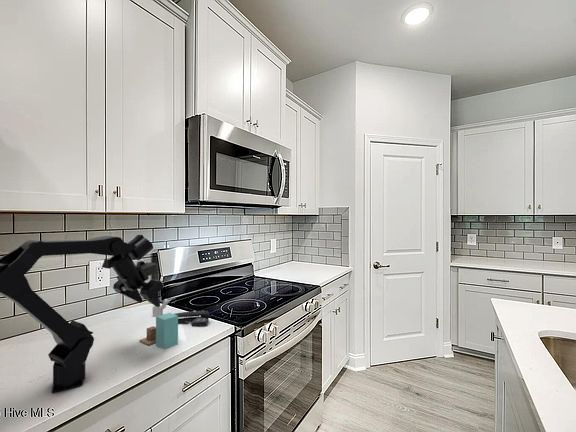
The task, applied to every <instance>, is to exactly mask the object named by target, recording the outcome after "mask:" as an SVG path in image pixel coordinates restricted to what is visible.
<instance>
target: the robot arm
mask: <svg viewBox="0 0 576 432" xmlns="http://www.w3.org/2000/svg"><path fill="white" fill-rule="evenodd" d="M153 249H154V244H153V243H152V242H151V241H150V240H149V239H148V238H146V237H144V235H143V234H137V235H136V236H135V237H133V239H131V240H130V241H128V242H124V240H123V239H122V237H120V236H109V235H103V236H98V237H97V236H96V237H92V238H89V239H82V240H79V239H75V240H71V239H70V240H69V239H68V240H37V239H35V240H33V239H31V240H26V241H25V242H23V243H22V244H21V245H20V246H18V247H17V248H16V249H13V250H12V251H10V252H8V253H7V254H5V255H4V256H2V257H0V295H1V296H2V297H4V298H7V299H9V300H10V301H12V302H13V303H14V304H15V305H17V306H18V307H19V308H20V309H22V310H23V311H24V312H25V313H27V314H28V316H30V317H31V318H32V319H34V320H35V321H36V322H37V323H38V324H40V325H41V326H42V327H43V328H45V329H46V330H47V331H48V332H49V333H51V336H52V338H53V340H54V342H55V343H56V345H55V346H54V347H53V348H52V349H51V351H50V352H49V353H48V355H47V356H48V358H49V359H50V361H51V362H53V365H52V378H53V379H52V388H51V394H54V393H58V392H63V391H66V390H70V389H73V388H77V387H81V386H83V384H84V380H85V379H86V361H87V360H88V356H89V354H90V350H91V349H92V347H93V345H94V341H95V337H94V336H93V334H94V332H93V331H90V330H89V329H88V327H87V326H86V325H85V324H84V323H82V322H78V321H76V320H70V322H69V321H67V320H66V319H65V318H64V317H63V316H62V315H61V314H60V313H59V312H57V310H55V309H54V308H53V307H52V306H51V305H50V304H49V303H47V302H46V301H45V300H44V299H43V298H42V297H41V296H40V295H38V293H36V292H35V291H34V290H33V289H32V287H31V285H30V283H29V280H28V278H27V277H26V276H25V275H26V274H27V273H28V272H29V271H31V269H32V268H33V267H34V265H35V264H36V263H37V262H38V260H40V258H42V257H47V256H49V257H50V256H64V255H65V256H66V255H84V254H93V255H94V254H95V255H104V256H109V258H108V259H107V258H104V259H103V263H102V266H101V267H102V268H103V269H108V270H109V269H111V268H112V269H113V270H114V272H115V274H116V275H117V276H116V279H117V281H116V282H114V283H113V287H112V288H113V290H114V291H115V293H119V294H120V295H122V296H123V297H126V298H129V299H131V300H133V301H135V302H137V303H139V304H141V303H142V302H143V300H144V301H146V302H148V303H149V304H151V305H152V306H153V307H154V306H156V307H159V306H161V303H160V302H161V301H160V293H159V292H160V291H161V290H162V289H164V286H165V285H164V282H162V280H157V279H150V276H152V275H154V274H158V273H159V270H158V264H157V262H156V263H155V262H145V261H143V260H142V259H143V258H144V257H145V256H147V255H148V254H149V253H150V252H151V251H153ZM134 261H137V262H136V264H135V262H134ZM149 279H150V280H149ZM148 280H149V281H148ZM145 281H148V282H145ZM138 289H139V290H140V291H139V290H138Z"/></svg>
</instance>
